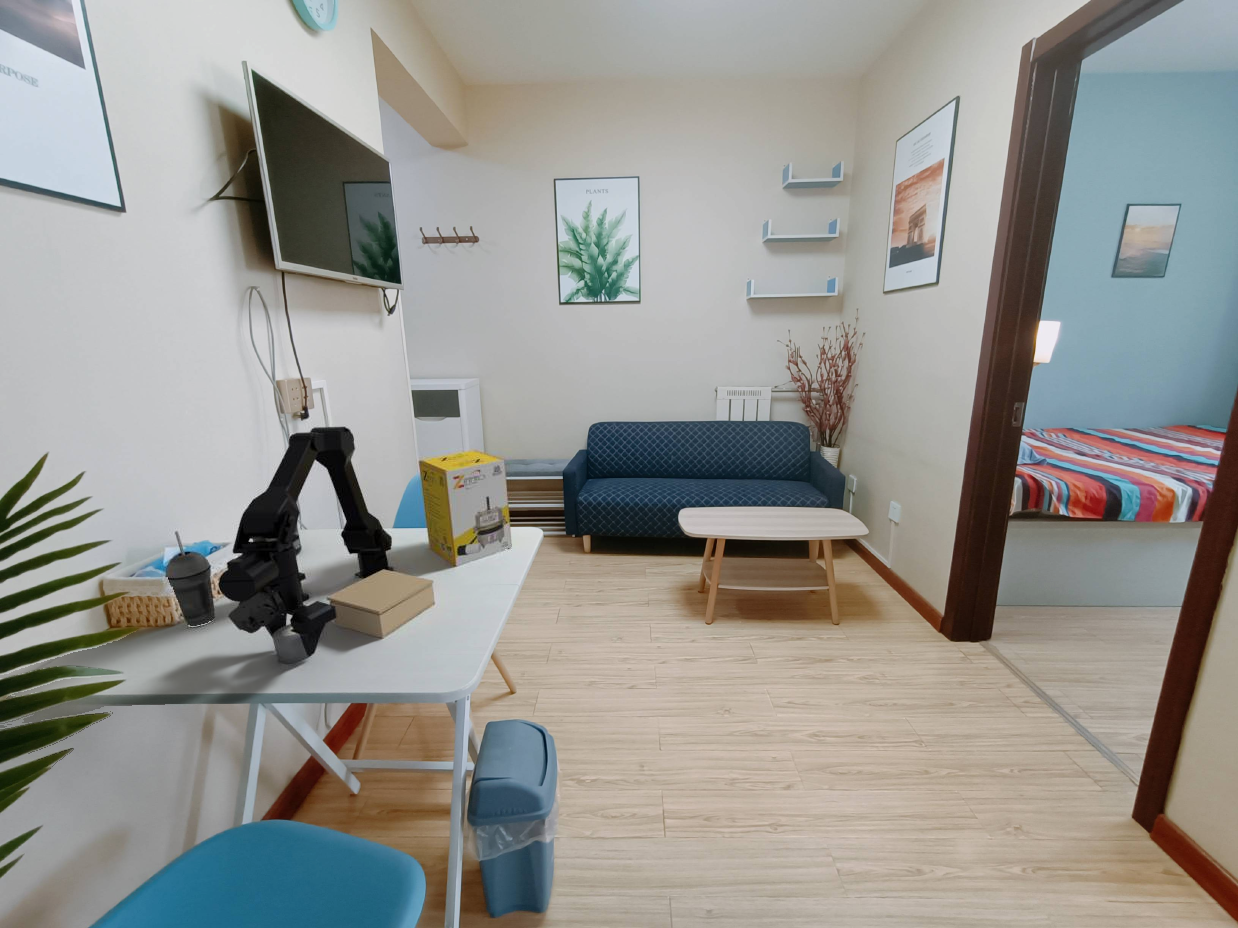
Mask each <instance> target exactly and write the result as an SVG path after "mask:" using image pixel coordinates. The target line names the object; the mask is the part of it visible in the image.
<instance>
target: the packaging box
mask: <svg viewBox="0 0 1238 928" xmlns="http://www.w3.org/2000/svg"><path fill="white" fill-rule="evenodd" d="M418 467H419V475H420V482H421V484H420V485H421V490H422V498H423V506H424V515H425V523H426V529H427V530H426V532H427V539H428V546H429V549H430V550H432V551H433V552H434V553H436V554H437V555H439V557H441V558H443V559H444V560H446V561H447V562H449V563H451V565H453V566H454V567H460V566H463V565H465V564H469V563H471V561H472V562H475V561H477V560H480V558H481V559H483V557H484V558H486V557H488V556H492V555H495V554H497V552H498V553H500V552H499V551H501V552H503V551H502V550H504V551H506V550H505V549H507V550H509V549H508V548H510V549H512V548H513V547H512V545H513V544H512V535H511V534H512V533H511V532H512V531H511V522H510V508H509V497H508V496H509V495H508V485H507V484H508V483H507V474H506V473H507V471H506V460H505V459H504V458H501V457H498V456H495V455H491V454H488V453H485V452H482V451H479V450H476V449H474V450H467V451H463V452H457V453H452V454H447V455H442V456H435V457H431V458H426V459H421V460H418ZM511 547H512V548H511Z"/></svg>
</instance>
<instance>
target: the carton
mask: <svg viewBox="0 0 1238 928" xmlns="http://www.w3.org/2000/svg"><path fill="white" fill-rule="evenodd" d="M329 604H330V605H333V606H335V608H336V613H337V617H336V618H335V619H333V620H332V622H333V624H334V625H337V626H341V627H343V628H347V629H350V630H353V631H356V632H360V633H365V634H367V635H371V636H373V637H377V638H381V639H385V638H386V637H388V636H389V635H391V634H392V633H393V632H395V631H397V630H398V629H400V628H401V627H403V626H404V625H406V624H407V623H409V622H410V621H412V620H413V619H414V618H416V617H418V616H419V615H420V614H422V613H423V612H425V611H427V610H428V609H430V608H431V607H433V606H434V605H435V604H436V602H435V594H434V585H433V583H432V584H431V585H429V586H427V587H426V588H424V589H422V590H420V591H419V592H417V593H415V594H414V595H412V596H410V597H408V598H407V599H405V600H403V601H402V602H400V603H398V604H396V605H395V606H393V607H391V608H390V609H388V610H386V611H384V612H383V613H381V614H377V613H373V612H369V611H366V610H362V609H358V608H355V607H351V606H347V605H344V604H340V603H336V602H333V601H329Z"/></svg>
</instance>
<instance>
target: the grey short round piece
mask: <svg viewBox="0 0 1238 928" xmlns="http://www.w3.org/2000/svg"><path fill="white" fill-rule="evenodd" d="M292 629H293V627H292V626H291V623H290V624H286V626H284V627H282V628H280V629H278V630H277V631H276V632H275V633H274V634H273V638H272V641H273V646H274V650H275V651H274V652H275V655H276V658H277V659H276V660H277V663H278V664H281V665H282V664H283V666H289V665H295V664H298V663H302V662H303V661H306V660H307V659H309V658H310V657H311V656H313V655H311V656H308V655H307V653H306V651H305V649H304V646H303V643H302V640H301V637H300V635H299V634H297V633H294V632H291V631H290V630H292Z"/></svg>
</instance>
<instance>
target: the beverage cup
mask: <svg viewBox="0 0 1238 928" xmlns="http://www.w3.org/2000/svg"><path fill="white" fill-rule="evenodd" d="M174 534H175V538H176V542H177V544H178V547H179V551H180V552H179V553H177V554H176V555H174V556H173V557H171V559H170V560H169V561H168V563H167V564H166V568H165V578H166V577H168V580H169V582H168V584H169V583H170V584H169V585H170V587H171V588H172V587H173V588H172V591H173V590H174V591H173V593H174V595H176V596H175V598H176V600H178V601H177V603H178V607H179V608H180V611H181V614H182V617H183V618H184V620H185V621H186V622H185V623H186V625H187V626H188V625H190V626H197V625H201V624H205V623H208V622H209V621H212V620H213V619H214V618H216V615H215V603H214V594H213V589H212V588H213V587H212V581H211V579H212V578H211V576H212V575H211V573H212V570H211V568H212V566H211V564H210V561H209V560H208V559H207V558H206V556H204V555H203V554H202V553H200V552H197V551H191V550H190V551H185V550H184V547H183V544H182V539H181V537H180V533H179V531H178V530H176V531H174ZM168 580H167V581H168ZM214 620H215V619H214ZM214 620H213V621H214ZM213 621H212V622H213ZM208 624H209V623H208Z"/></svg>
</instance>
